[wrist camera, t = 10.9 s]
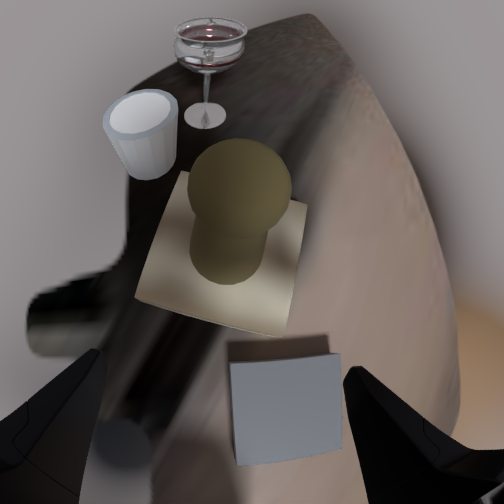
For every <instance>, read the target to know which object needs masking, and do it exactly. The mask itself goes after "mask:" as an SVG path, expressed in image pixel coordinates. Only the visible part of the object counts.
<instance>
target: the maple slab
mask: <svg viewBox="0 0 504 504" xmlns="http://www.w3.org/2000/svg"><path fill="white" fill-rule="evenodd" d="M188 176H189V172H185V171H181V173H180V175H179V177H178V180H177V182H176V184H175V187H174V189H173V191H172V194H171V196H170V199H169V201H168V203H167V206H166V208H165V211H164V213H163V216H162V219H161V221H160V224H159V226H158V229H157V232H156V234H155V237H154V240H153V243H152V245H151V248H150V251H149V254H148V257H147V260H146V262H145V265H144V268H143V271H142V274H141V278H140V281H139V284H138V287H137V290H136V294H135V298H136V299H138V300H139V301H142V302H145V303H148V304H151V305H154V306H157V307H161V308H164V309H167V310H170V311H174V312H177V313H180V314H184V315H187V316H191V317H194V318H198V319H202V320H205V321H209V322H213V323H217V324H220V325H224V326H228V327H232V328H236V329H240V330H245V331H249V332H253V333H257V334H262V335H266V336H271V337H276V338H282V337H284V333H285V329H286V324H287V319H288V314H289V309H290V304H291V299H292V294H293V288H294V283H295V278H296V272H297V267H298V261H299V255H300V249H301V244H302V238H303V231H304V225H305V219H306V212H307V206H308V205H307V204H304V203H300V202H297V201H294V200H290V202H289V205H288V208H287V210H286V212H285V213H284V215H283V216H282V217H281V219H280V220H279V222H278V223H277V224H276V225H275V226H273V227H272V228H270V229H269V230H268V234H267V239H266V244H265V249H264V254H263V258H262V261H261V264H260V266H259V268H258V269H257V271H256V272H255V273H254V275H252V276H251V277H250V278H248V279H247V280H245V281H244V282H241V283H237V284H234V285H220V284H217V283H214V282H211V281H209V280H207V279H206V278H204V277H203V276H202V275H200V274H199V273H198V271H197V270H196V268H195V267H194V265H193V264H192V260H191V257H190V254H189V250H190V239H191V234H192V230H193V225H194V220H195V216H196V215H195V213H194V212H193V211H192V208H191V205H190V202H189V198H188V193H187V186H188Z"/></svg>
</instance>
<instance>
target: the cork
mask: <svg viewBox="0 0 504 504" xmlns="http://www.w3.org/2000/svg"><path fill="white" fill-rule="evenodd" d="M291 192H292V186H291V178H290V174H289V172H288V170H287V168H286V166H285V164H284V162H283V160H282V159H281V158H280V157H279V156H278V155H277V154H276V153H275V151H274V150H272V149H271V148H269V147H267V146H266V145H264V144H262V143H260V142H256V141H253V140H250V139H239V138H234V139H228V140H223V141H220V142H218V143H216V144H214V145H212V146H210V147H209V148H207V149H206V150H205V151H204V152H203V153H202V154H201V155H200V156H199V157H198V158H197V159H196V161H195V163H194V164H193V166H192V168H191V170H190V173H189V176H188V186H187V193H188V198H189V202H190V205H191V208H192V211H193V212H194V213H195V215H196V216H195V220H194V225H193V230H192V234H191V239H190V250H189V254H190V257H191V260H192V264H193V265H194V267H195V268H196V270H197V271H198V273H199V274H200V275H202V276H203V277H204V278H206V279H207V280H209V281H211V282H214V283H217V284H220V285H234V284H237V283H241V282H244V281H245V280H247V279H248V278H250V277H251V276H252V275H254V273H255V272H256V271H257V269H258V268H259V266H260V264H261V261H262V258H263V254H264V249H265V244H266V239H267V234H268V230H269V229H270V228H272V227H273V226H275V225H276V224H277V223H278V222H279V220H280V219H281V217H282V216H283V215H284V213H285V212H286V210H287V208H288V205H289V202H290V198H291Z"/></svg>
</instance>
